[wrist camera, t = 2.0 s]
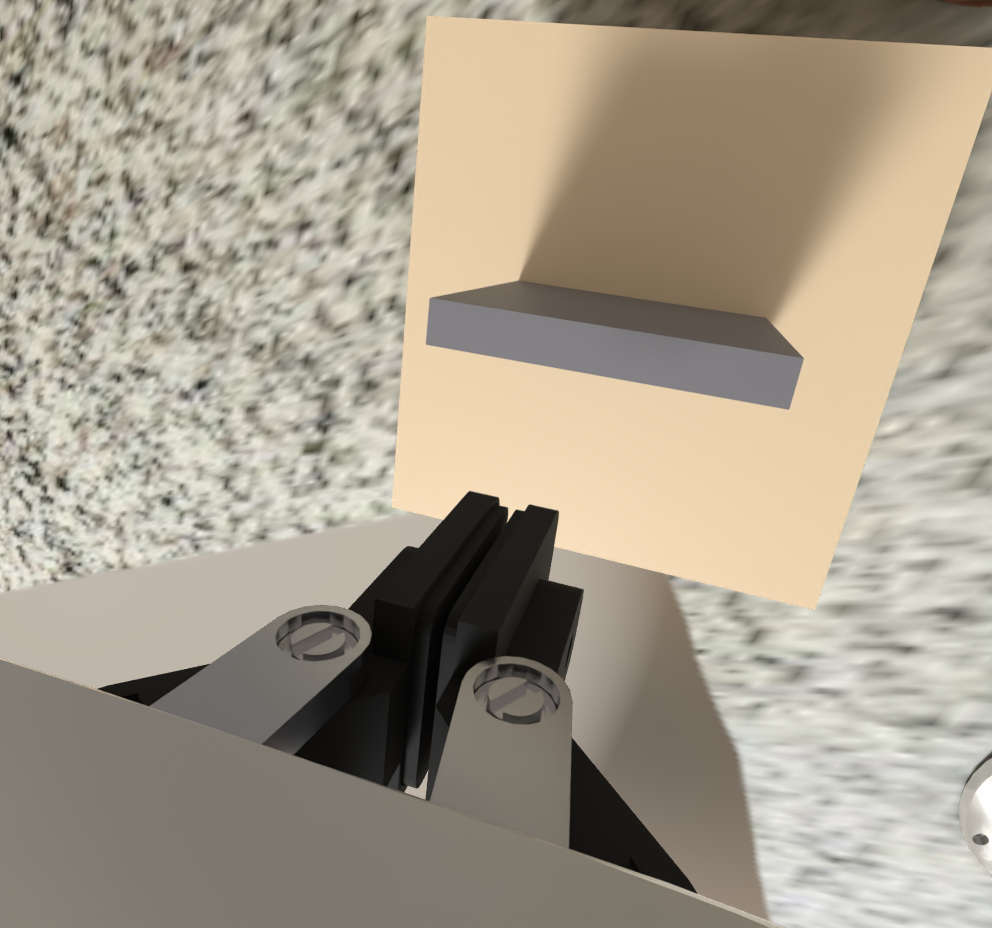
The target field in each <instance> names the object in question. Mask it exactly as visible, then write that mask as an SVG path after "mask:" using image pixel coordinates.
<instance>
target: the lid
mask: <svg viewBox="0 0 992 928" xmlns="http://www.w3.org/2000/svg"><path fill="white" fill-rule="evenodd" d="M991 92H992V48H986V47H969V46H951V45H933V44H916V43H898V42H880V41H863V40H845V39H827V38H810V37H792V36H774V35H757V34H739V33H721V32H704V31H686V30H668V29H651V28H633V27H615V26H598V25H580V24H562V23H545V22H527V21H509V20H491V19H474V18H456V17H438V16H427V21H426V35H425V49H424V63H423V77H422V91H421V105H420V119H419V133H418V147H417V161H416V175H415V189H414V203H413V218H412V232H411V246H410V260H409V274H408V288H407V302H406V316H405V330H404V344H403V358H402V372H401V386H400V400H399V415H398V429H397V443H396V457H395V471H394V485H393V499H392V507H393V508H397V509H401V510H405V511H410V512H414V513H418V514H422V515H426V516H430V517H434V518H438V519H442V520H444V519H445V517H446V516H447V515H448V514H449V513H450V512H451V511H452V510H453V508H454V507H455V506H456V505H457V504H458V503H459V502H460V500H461V499H462V498H463V497H464V496H465V495H466V494H467V492H469V491H473V492H477V493H482V494H486V495H491V496H495V497H498V498H499V500H500V506H504V507H508V521H509V519H510V517H511V516H512V514H513V513H514V511H515V510H516V509H517V510H522V511H525V510H526V508H527V506H528V505H529V504H531V505H535V506H540V507H544V508H549V509H553V510H558V511H559V520H558V526H557V532H556V538H555V544H554V547H558V548H562V549H566V550H570V551H574V552H578V553H583V554H587V555H591V556H595V557H599V558H603V559H607V560H611V561H615V562H620V563H624V564H628V565H632V566H636V567H640V568H644V569H649V570H652V571H657V572H661V573H665V574H669V575H673V576H677V577H681V578H685V579H689V580H694V581H698V582H702V583H706V584H710V585H714V586H718V587H722V588H727V589H731V590H735V591H739V592H743V593H747V594H751V595H755V596H759V597H764V598H768V599H772V600H776V601H780V602H784V603H788V604H792V605H797V606H801V607H805V608H809V609H813V610H815V608H816V605H817V602H818V599H819V596H820V594H821V591H822V588H823V585H824V582H825V579H826V576H827V573H828V570H829V567H830V564H831V561H832V558H833V555H834V552H835V550H836V547H837V544H838V541H839V538H840V535H841V532H842V529H843V526H844V523H845V520H846V517H847V514H848V511H849V508H850V506H851V503H852V500H853V497H854V494H855V491H856V488H857V485H858V482H859V479H860V476H861V473H862V470H863V467H864V464H865V462H866V459H867V456H868V453H869V450H870V447H871V444H872V441H873V438H874V435H875V432H876V429H877V426H878V423H879V420H880V418H881V415H882V412H883V409H884V406H885V403H886V400H887V397H888V394H889V391H890V388H891V385H892V382H893V379H894V376H895V374H896V371H897V368H898V365H899V362H900V359H901V356H902V353H903V350H904V347H905V344H906V341H907V338H908V335H909V332H910V330H911V327H912V324H913V321H914V318H915V315H916V312H917V309H918V306H919V303H920V300H921V297H922V294H923V291H924V288H925V286H926V283H927V280H928V277H929V274H930V271H931V268H932V265H933V262H934V259H935V256H936V253H937V250H938V247H939V244H940V241H941V239H942V236H943V233H944V230H945V227H946V224H947V221H948V218H949V215H950V212H951V209H952V206H953V203H954V200H955V197H956V195H957V192H958V189H959V186H960V183H961V180H962V177H963V174H964V171H965V168H966V165H967V162H968V159H969V156H970V153H971V151H972V148H973V145H974V142H975V139H976V136H977V133H978V130H979V127H980V124H981V121H982V118H983V115H984V112H985V109H986V107H987V104H988V101H989V98H990V95H991ZM508 521H507V522H508Z"/></svg>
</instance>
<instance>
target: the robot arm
mask: <svg viewBox="0 0 992 928" xmlns="http://www.w3.org/2000/svg"><path fill="white" fill-rule="evenodd" d="M558 520H559V511H558V510H553V509H549V508H544V507H540V506H535V505H531V504H529V505H528V506H527V508H526V510H525V511H522V510H517V509H516V510H515V511H514V513H513V514H512V516H511V517H510V519H509V521H508V507H504V506H500V500H499V498H498V497H495V496H491V495H486V494H482V493H477V492H473V491H469V492H467V494H466V495H465V496H464V497H463V498H462V499H461V500H460V502H459V503H458V504H457V505H456V506H455V507H454V508H453V510H452V511H451V512H450V513H449V514H448V515H447V516H446V517H445V519H444V520H443V521H442V522H441V523H440V524H439V526H438V527H437V528H436V529H435V530H434V531H433V533H432V534H431V535H430V536H429V537H428V538H427V539H426V541H425V542H424V543H423V544H422V545H421V546H420V547H419V548H415V547H411V546H407V547H406V548H404V549H403V550H402V551H401V552H400V553H399V555H398V556H397V557H396V558H395V559H394V560H393V561H392V562H391V563H390V564H389V565H388V566H387V568H386V569H385V570H384V571H383V572H382V573H381V574H380V575H379V576H378V577H377V578H376V579H375V580H374V582H373V583H372V584H371V585H370V586H369V587H368V588H367V589H366V590H365V591H364V593H363V594H362V595H361V596H360V597H359V598H358V599H357V600H356V601H355V602H354V603H353V604H352V605H351V607H350V608H349V609H345V608H341V607H338V606H328V605H315V606H306V607H302V608H298V609H295V610H291V611H289V612H287V613H285V614H283V615H281V616H279V617H277V618H276V619H275V620H273V621H272V622H270V623H269V624H267V625H266V626H264V627H263V628H261V629H260V630H259V631H257V632H256V633H254V634H253V635H251V636H250V637H249V638H247V639H246V640H244V641H243V642H241V643H240V644H238V645H237V646H236V647H234V648H233V649H231V650H230V651H228V652H227V653H225V654H224V655H223V656H221V657H220V658H218V659H217V660H215V661H214V662H212V663H211V664H207V665H203V666H198V667H193V668H189V669H184V670H179V671H174V672H170V673H165V674H160V675H156V676H151V677H146V678H141V679H137V680H132V681H127V682H122V683H118V684H113V685H108V686H105V687H102V688H98V689H95V688H92V687H89V686H85V685H82V684H79V683H76V682H73V681H70V680H67V679H64V678H61V677H58V676H55V675H52V674H49V673H46V672H43V671H40V670H37V669H34V668H31V667H28V666H25V665H21V664H19V663H16V662H13V661H10V660H7V659H3V658H1V657H0V928H786V927H784V926H781V925H778V924H776V923H773V922H770V921H768V920H765V919H762V918H759V917H757V916H754V915H751V914H749V913H746V912H744V911H741V910H738V909H736V908H733V907H731V906H728V905H725V904H722V903H720V902H717V901H715V900H712V899H709V898H707V897H704V896H701V895H699V894H697V892H696V891H695V889H694V888H693V886H692V884H691V883H690V881H689V880H688V878H687V877H686V876H685V875H684V874H683V872H682V871H681V870H680V869H679V867H678V866H677V865H676V864H675V863H674V861H673V860H672V859H671V858H670V857H669V855H668V854H667V853H666V852H665V850H664V849H663V848H662V847H661V846H660V845H659V843H658V842H657V841H656V839H655V838H654V837H653V836H652V835H651V833H650V832H649V831H648V830H647V829H646V827H645V826H644V825H643V824H642V822H641V821H640V820H639V819H638V818H637V816H636V815H635V814H634V813H633V812H632V810H631V809H630V808H629V807H628V805H627V804H626V803H625V802H624V801H623V799H622V798H621V797H620V796H619V794H618V793H617V792H616V791H615V790H614V788H613V787H612V786H611V785H610V784H609V782H608V781H607V780H606V779H605V778H604V776H603V775H602V774H601V773H600V771H599V770H598V769H597V768H596V766H595V765H594V764H593V763H592V762H591V760H590V759H589V758H588V757H587V756H586V754H585V753H584V752H583V751H582V749H581V748H580V747H579V746H578V745H577V743H576V742H575V741H574V740H573V739H572V703H573V702H572V697H571V693H570V689H569V688H568V686H567V685H566V683H565V677H566V674H567V670H568V665H569V662H570V658H571V653H572V649H573V645H574V640H575V635H576V630H577V625H578V619H579V615H580V609H581V605H582V599H583V592H584V590H583V589H580V588H576V587H572V586H568V585H564V584H560V583H556V582H552V581H548V579H549V573H550V567H551V562H552V556H553V549H554V544H555V538H556V532H557V526H558ZM507 521H508V522H507ZM428 769H429V772H428V782H427V791H426V800H425V799H422V798H419V797H416V796H413V795H410V794H407V793H404V792H405V790H406V788H407V786H411V787H414V788H419V786H420V785H421V783H422V781H423V779H424V777H425V775H426V773H427V771H428ZM959 822H960V826H961V830H962V834H963V836H964V838H965V840H966V842H967V845H968V847H969V850H970V851H971V853H972V854H973V856H974V857H975V859H976V860H977V862H978V864H979V865H980V866H981V867H982V868H983V869H984V870H985V871H986V872H987V873H988V874H989V875H990V876H991V877H992V758H991V759H989V760H988V761H986V762H985V763H984V764H983V765H982V766H981V767H980V768H979V769H978V770H977V771H976V772H975V773H974V774H973V775H972V777H971V778H970V780H969V781H968V783H967V784H966V786H965V787H964V790H963V793H962V796H961V799H960V802H959Z"/></svg>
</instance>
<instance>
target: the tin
mask: <svg viewBox="0 0 992 928" xmlns="http://www.w3.org/2000/svg"><path fill="white" fill-rule="evenodd" d="M943 1H946V2H950V3H953V4H958V5H963V6H970V7H992V0H943Z"/></svg>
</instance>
